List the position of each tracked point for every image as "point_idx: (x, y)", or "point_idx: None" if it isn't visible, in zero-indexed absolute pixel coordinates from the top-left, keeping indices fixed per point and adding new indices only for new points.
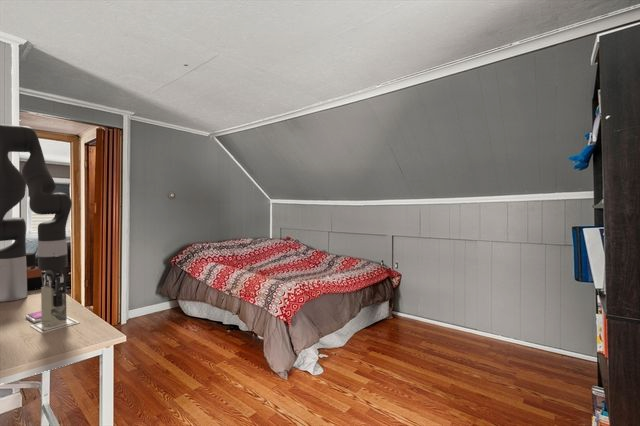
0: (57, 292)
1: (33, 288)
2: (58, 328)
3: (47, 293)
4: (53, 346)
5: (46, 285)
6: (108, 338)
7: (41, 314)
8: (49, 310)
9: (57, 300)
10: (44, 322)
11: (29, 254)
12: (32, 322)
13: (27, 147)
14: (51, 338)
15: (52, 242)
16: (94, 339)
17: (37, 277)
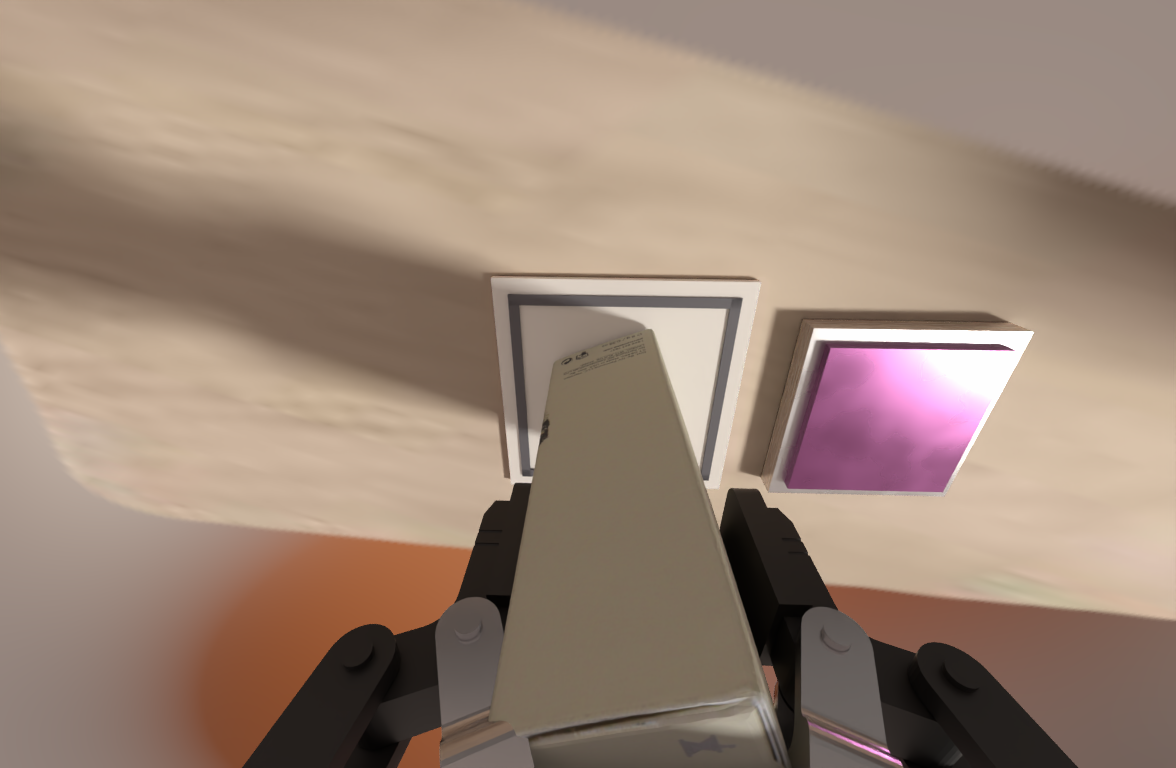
0: (312, 680)
1: None
2: (501, 376)
3: (581, 601)
4: (131, 232)
5: (804, 763)
6: (101, 466)
7: (884, 405)
8: (562, 430)
9: (474, 557)
10: (623, 349)
11: None
12: (839, 320)
13: None
14: (326, 281)
15: None
16: (127, 423)
17: None
